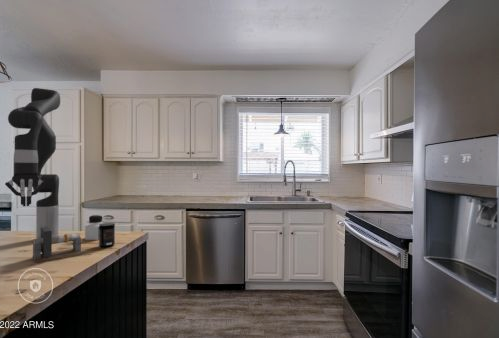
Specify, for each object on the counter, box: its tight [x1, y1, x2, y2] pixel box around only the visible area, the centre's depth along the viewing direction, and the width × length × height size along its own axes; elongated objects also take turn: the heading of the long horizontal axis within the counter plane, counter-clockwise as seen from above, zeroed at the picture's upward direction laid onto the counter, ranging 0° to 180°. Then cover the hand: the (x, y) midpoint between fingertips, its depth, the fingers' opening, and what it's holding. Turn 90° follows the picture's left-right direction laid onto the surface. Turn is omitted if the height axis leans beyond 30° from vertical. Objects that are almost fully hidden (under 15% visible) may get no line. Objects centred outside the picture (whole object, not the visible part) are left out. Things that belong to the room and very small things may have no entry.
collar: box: [41, 227, 53, 257], centre depth 116 cm, size 10×2×10 cm, turn 43°
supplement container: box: [98, 222, 116, 249], centre depth 135 cm, size 7×7×10 cm
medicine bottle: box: [84, 214, 103, 241], centre depth 148 cm, size 7×7×12 cm
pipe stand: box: [32, 232, 83, 264], centre depth 119 cm, size 8×16×9 cm, turn 133°
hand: (25, 205), depth 111 cm, fingers closed
